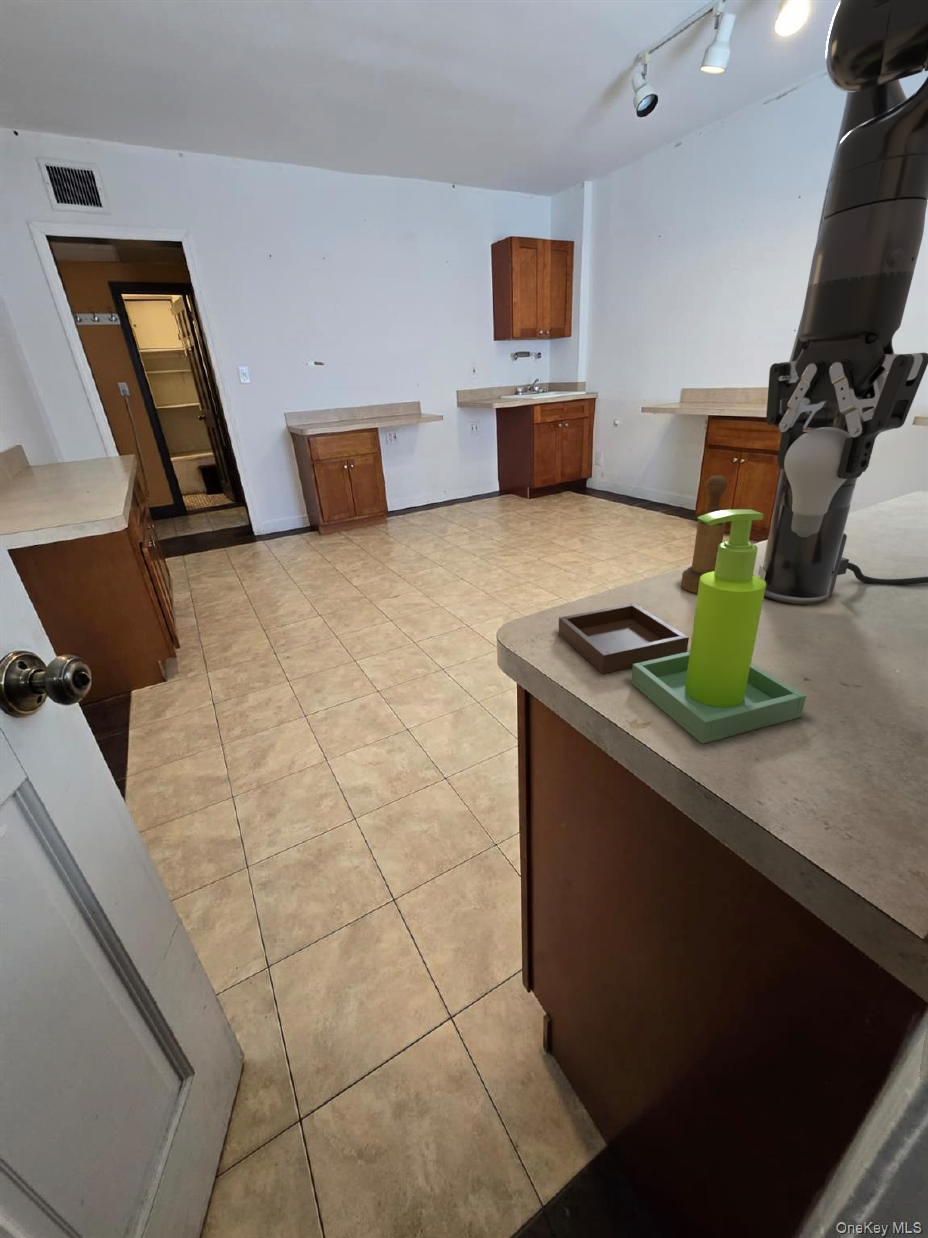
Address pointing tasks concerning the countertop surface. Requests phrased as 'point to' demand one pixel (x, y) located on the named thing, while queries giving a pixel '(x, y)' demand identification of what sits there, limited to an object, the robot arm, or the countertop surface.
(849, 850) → the countertop surface
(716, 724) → the green tray
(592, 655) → the walnut tray
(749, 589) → the soap dispenser
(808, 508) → the lightbulb
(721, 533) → the wooden pepper mill
